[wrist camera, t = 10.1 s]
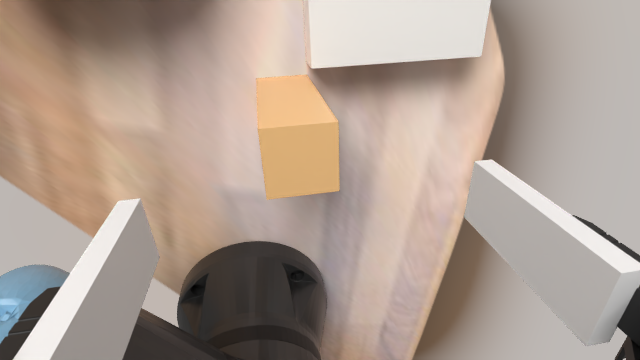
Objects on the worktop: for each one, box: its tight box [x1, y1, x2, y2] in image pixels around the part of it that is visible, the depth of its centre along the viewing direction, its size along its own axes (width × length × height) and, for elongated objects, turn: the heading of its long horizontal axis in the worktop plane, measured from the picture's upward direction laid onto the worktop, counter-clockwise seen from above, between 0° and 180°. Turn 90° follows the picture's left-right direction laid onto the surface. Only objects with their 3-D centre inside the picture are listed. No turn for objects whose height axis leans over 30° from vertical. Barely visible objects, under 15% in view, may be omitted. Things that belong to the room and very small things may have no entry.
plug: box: [256, 75, 339, 200], centre depth 23 cm, size 4×4×12 cm
